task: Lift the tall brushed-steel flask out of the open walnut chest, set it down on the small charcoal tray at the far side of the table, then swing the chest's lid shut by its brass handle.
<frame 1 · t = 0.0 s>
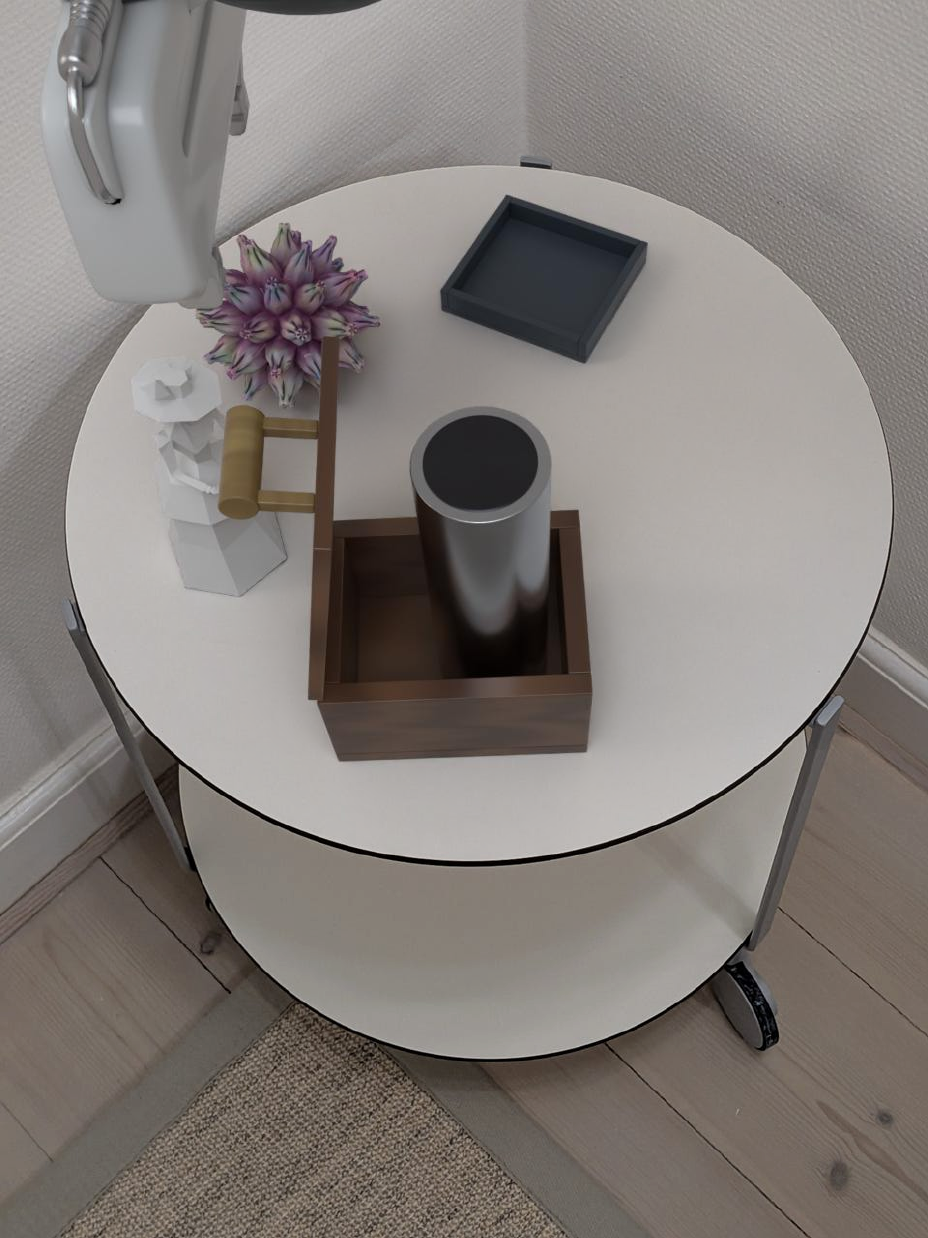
hand: (217, 205, 50), 31 cm above the table, tool pointing down, fingers open, 8 cm apart
figurine: (228, 547, 80), on the table
tray: (544, 286, 88), on the table
flower: (302, 375, 86), on the table
chest: (460, 668, 74), on the table
lid: (279, 528, 60), point 16 cm above the table, hinge at 80.0°
flask: (493, 658, 73), point 1 cm above the table, touching chest
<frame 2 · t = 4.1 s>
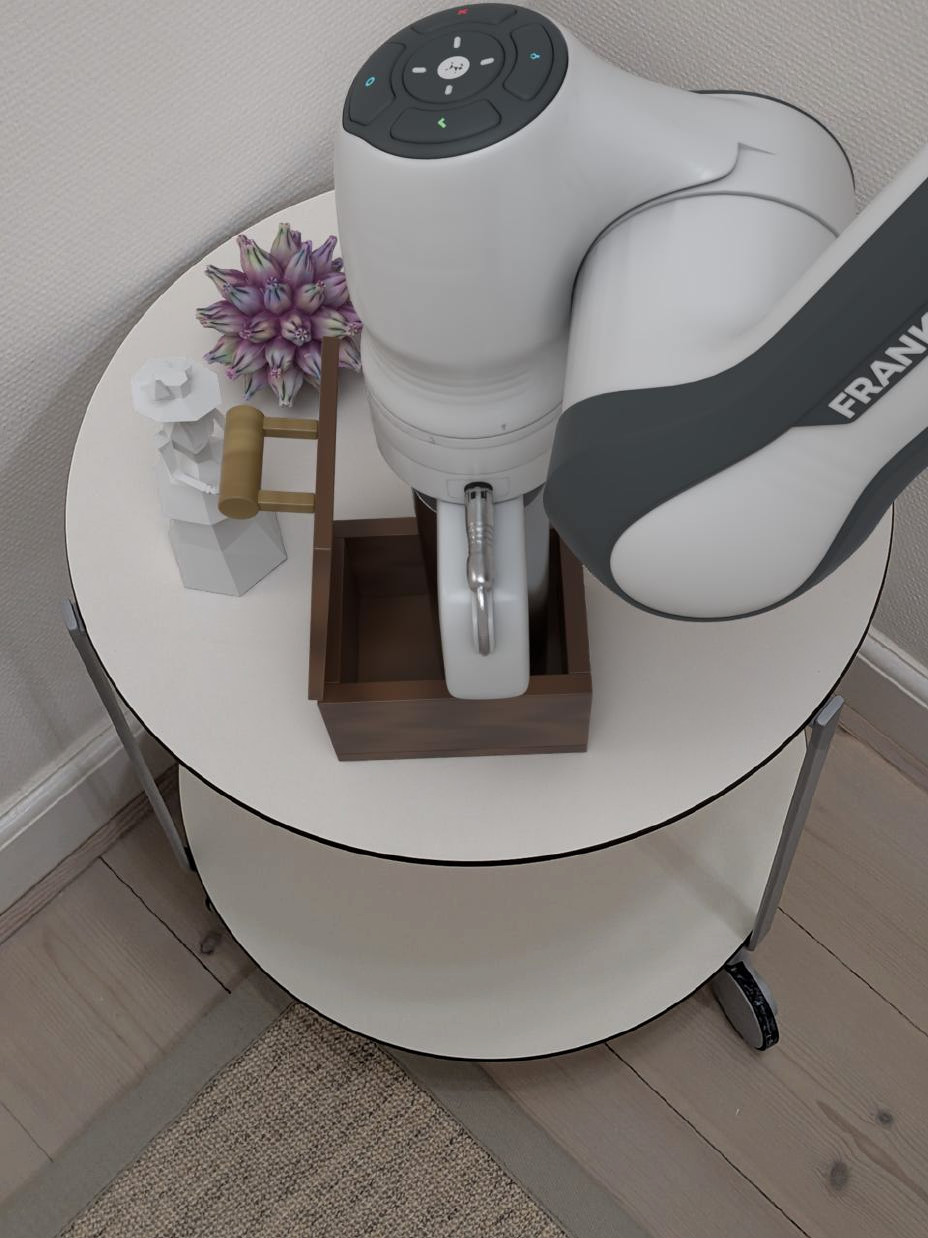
hand: (486, 564, 64), 12 cm above the table, tool pointing down, fingers closed on flask, 6 cm apart
flask: (493, 658, 73), point 1 cm above the table, touching chest, gripper
everything else where it was.
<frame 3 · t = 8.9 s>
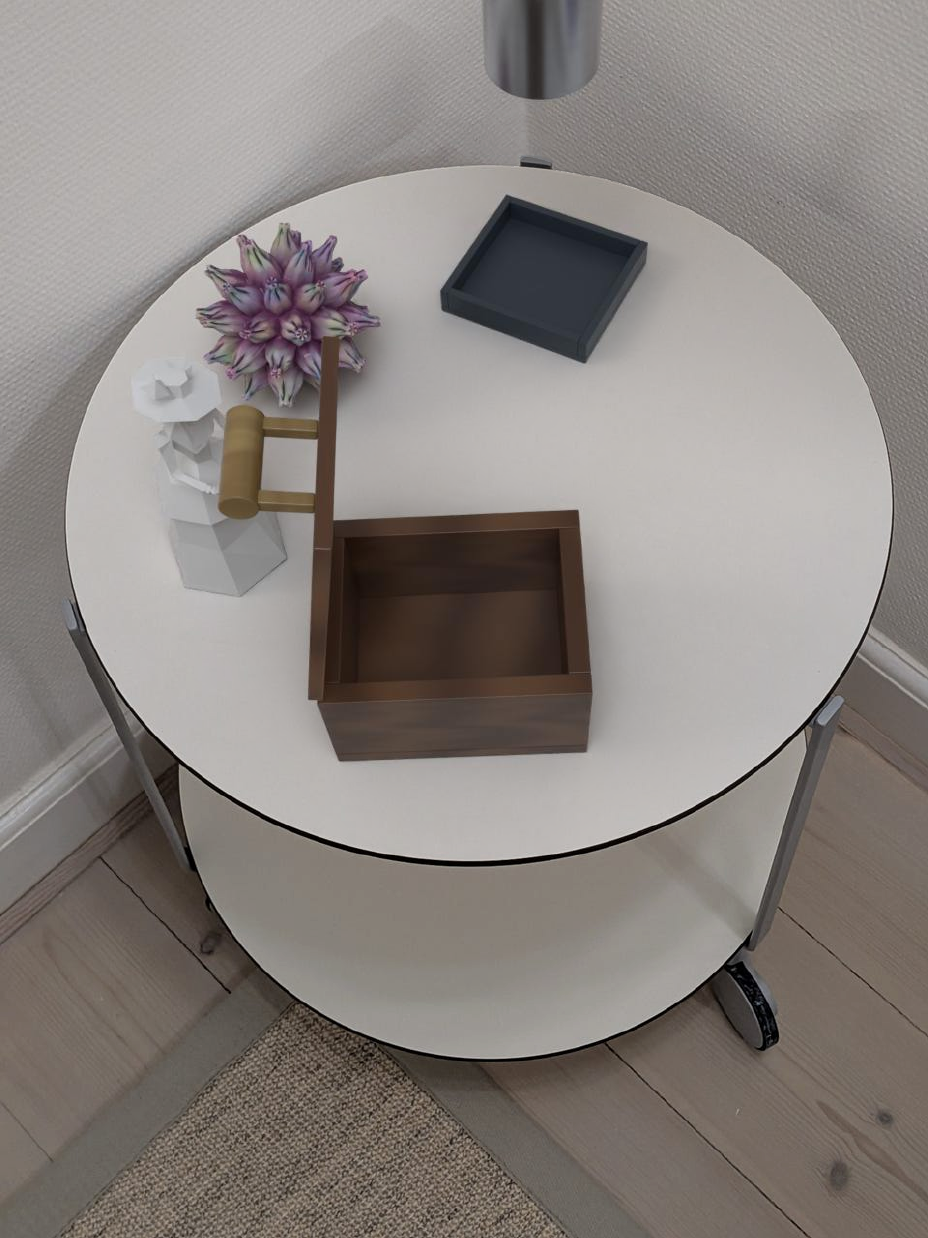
flask: (541, 60, 69), point 21 cm above the table, touching gripper
everything else where it was.
when the fingers open (11 cm above the table, at t = 14.0 s): flask stays where it is, resting on tray.
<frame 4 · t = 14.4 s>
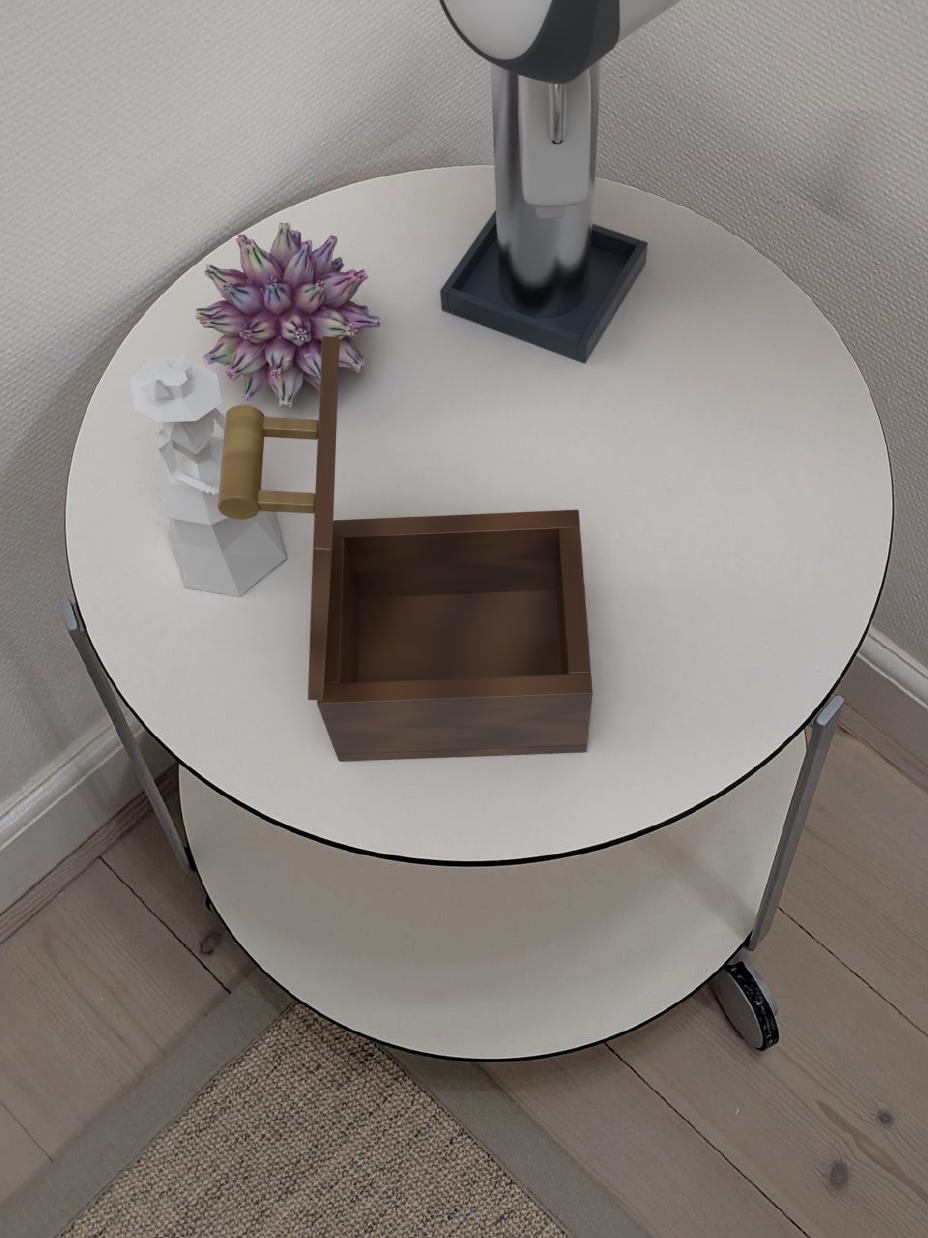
hand: (546, 155, 78), 12 cm above the table, tool pointing down, fingers open, 8 cm apart
flask: (543, 282, 88), resting on tray
everything else where it was.
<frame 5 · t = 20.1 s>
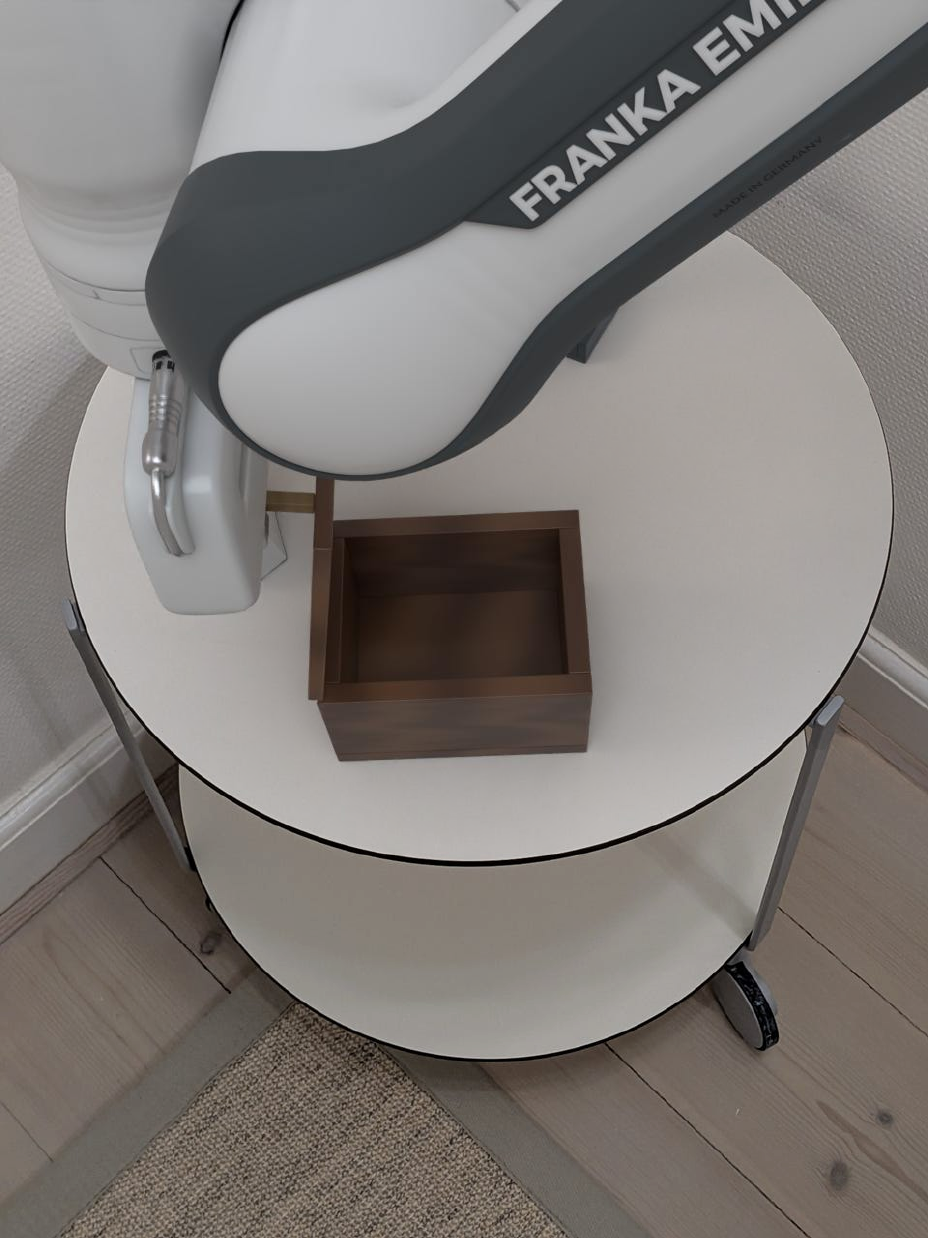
hand: (254, 476, 56), 21 cm above the table, tool pointing down, fingers closed on lid, 5 cm apart
lid: (279, 528, 60), point 16 cm above the table, hinge at 80.0°, touching gripper
everything else where it was.
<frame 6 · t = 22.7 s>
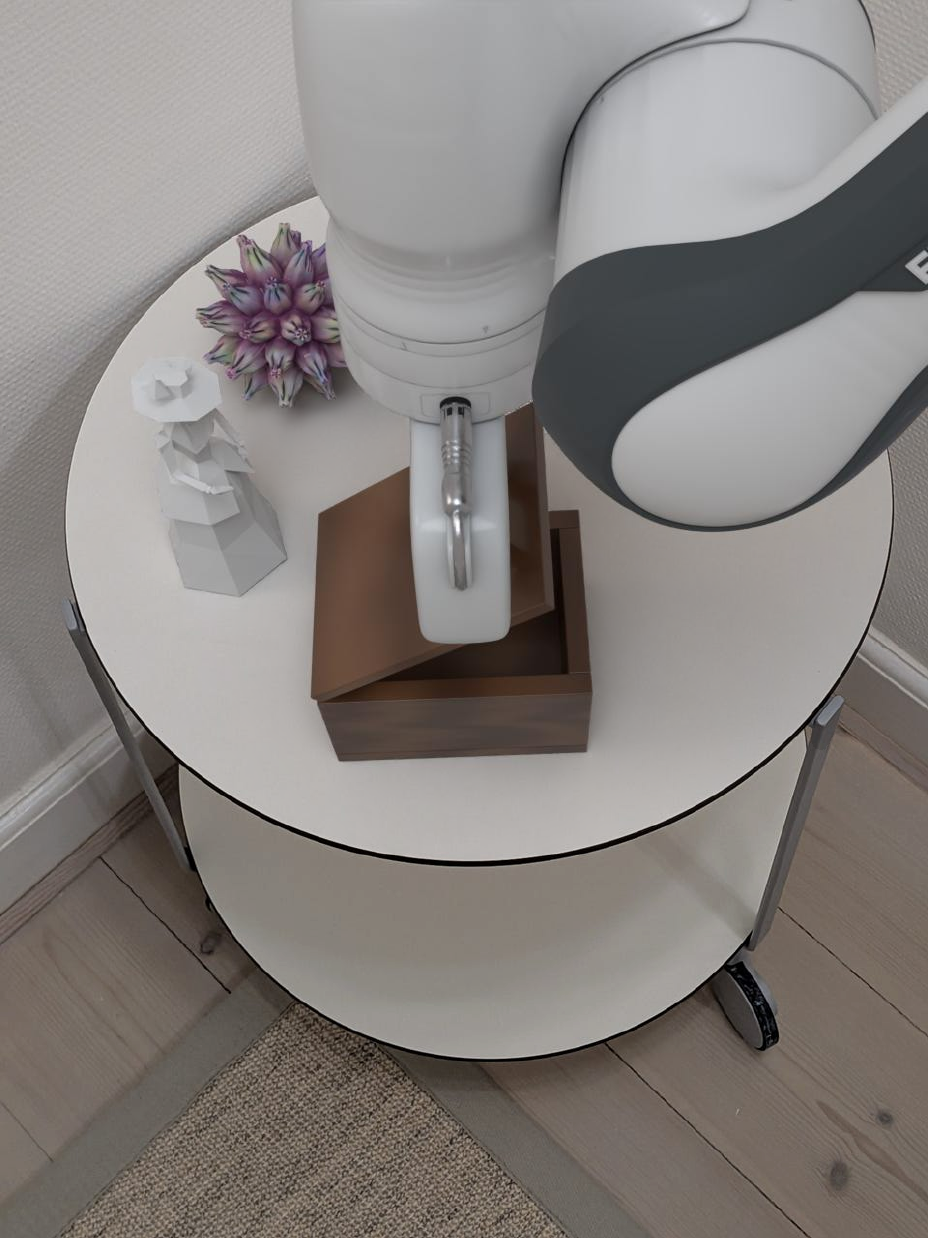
hand: (465, 506, 59), 18 cm above the table, tool pointing down, fingers closed on lid, 5 cm apart
lid: (395, 540, 61), point 15 cm above the table, hinge at 37.3°, touching gripper
everything else where it was.
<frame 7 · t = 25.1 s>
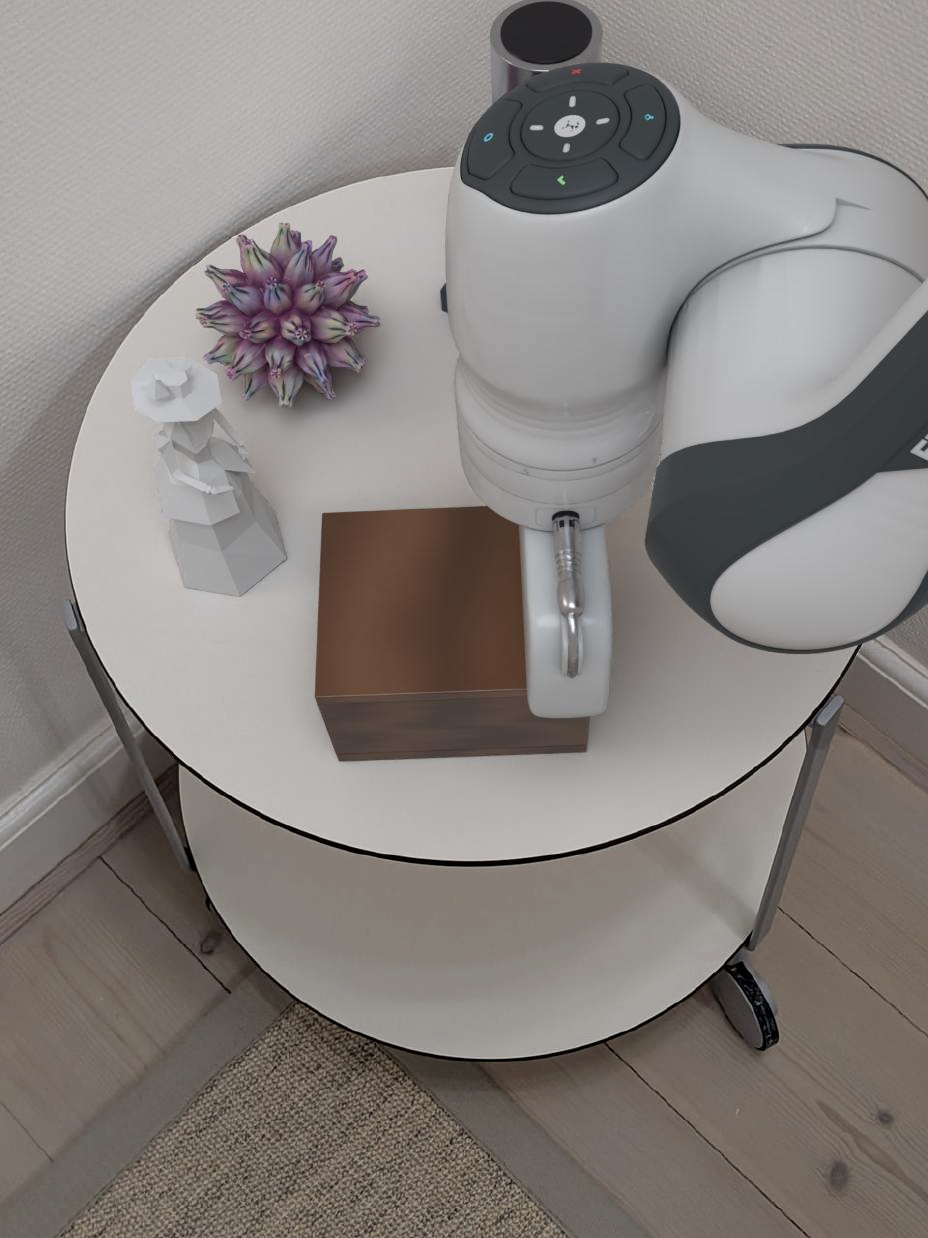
hand: (554, 584, 66), 10 cm above the table, tool pointing down, fingers closed on lid, 5 cm apart
lid: (457, 579, 65), point 11 cm above the table, hinge at -0.2°, touching chest, gripper
everything else where it was.
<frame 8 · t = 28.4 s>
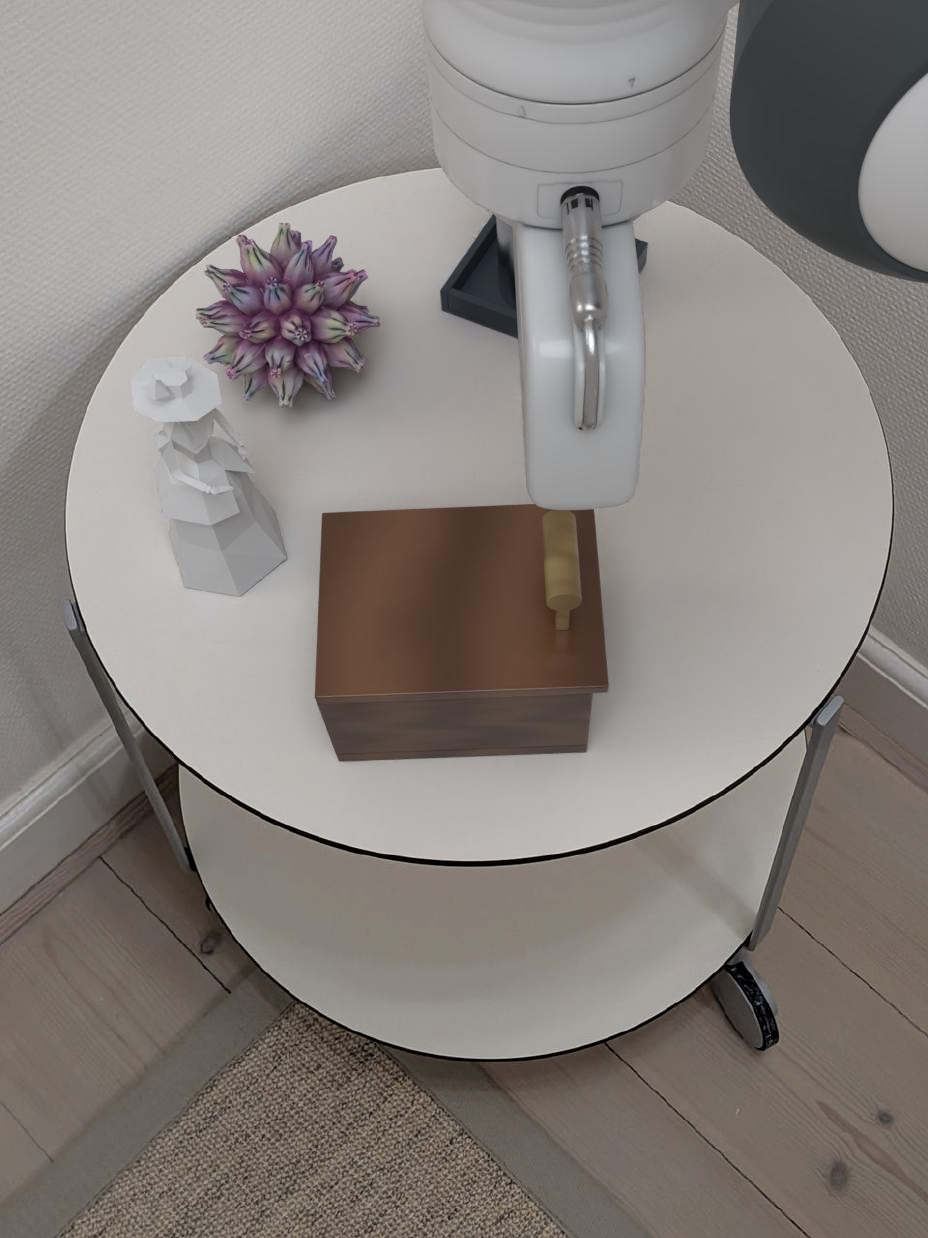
hand: (561, 374, 50), 27 cm above the table, tool pointing down, fingers open, 8 cm apart
lid: (457, 579, 65), point 11 cm above the table, hinge at -0.2°, touching chest
everything else where it was.
at the end: flask 0.1 cm off-centre in the tray, point 0.5 cm above the tray's base; flask tilted 0°; lid at +0° (first picture: +80°) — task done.
